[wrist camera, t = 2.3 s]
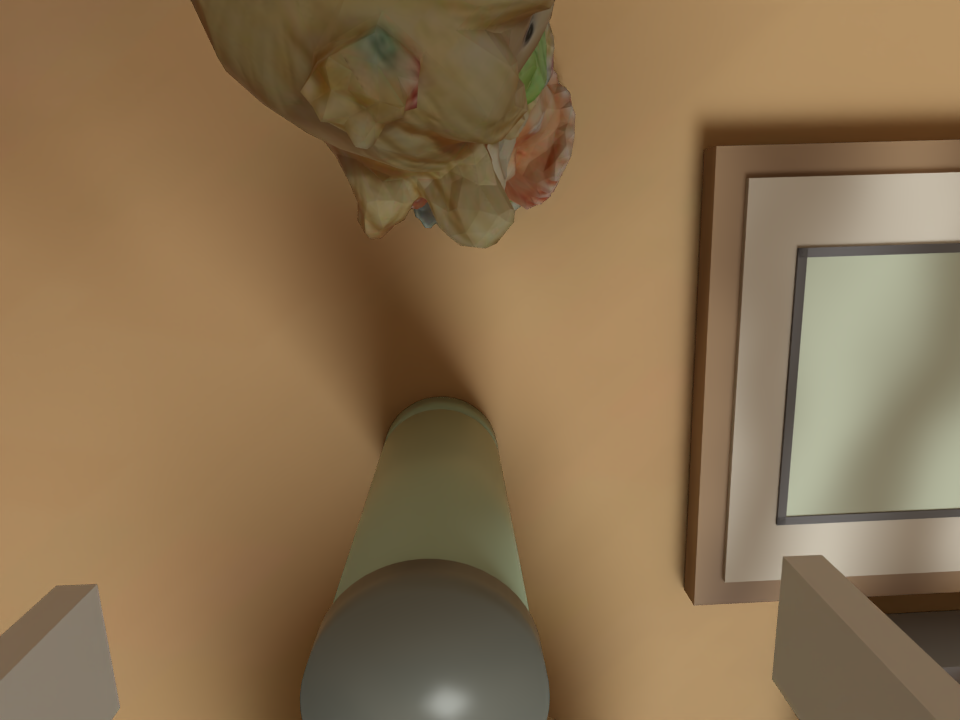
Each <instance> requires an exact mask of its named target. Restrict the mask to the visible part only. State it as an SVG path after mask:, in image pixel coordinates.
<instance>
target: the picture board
mask: <svg viewBox="0 0 960 720" xmlns="http://www.w3.org/2000/svg"><path fill="white" fill-rule="evenodd" d="M805 555H823V556H824V557H825V558H826V559H827V560H828V561H829V562H830V563H831V564H832V565H833V566H834V567H835V568H837V569H838V570H839V571H840V572H841V573H842V574H843V575H844V576H845V577H846V578H847V579H848V580H849V581H850V582H851V583H852V584H854V585H855V586H856V587H857V588H858V589H859V590H860V591H861V592H862V593H863V594H864V595H865V596H866V597H870V596H890V595H910V594H929V593H949V592H960V140H927V141H890V142H852V143H815V144H778V145H740V146H715V147H712V148H709V149H705V150H704V162H703V184H702V207H701V229H700V251H699V273H698V296H697V318H696V340H695V362H694V385H693V407H692V429H691V451H690V474H689V496H688V518H687V540H686V563H685V585H684V590H685V592H686V593H687V595H688V597H689V598H690V600H691V601H692V603H693V605H713V604H732V603H752V602H772V601H779V595H780V583H781V572H782V560H783V556H805Z"/></svg>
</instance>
